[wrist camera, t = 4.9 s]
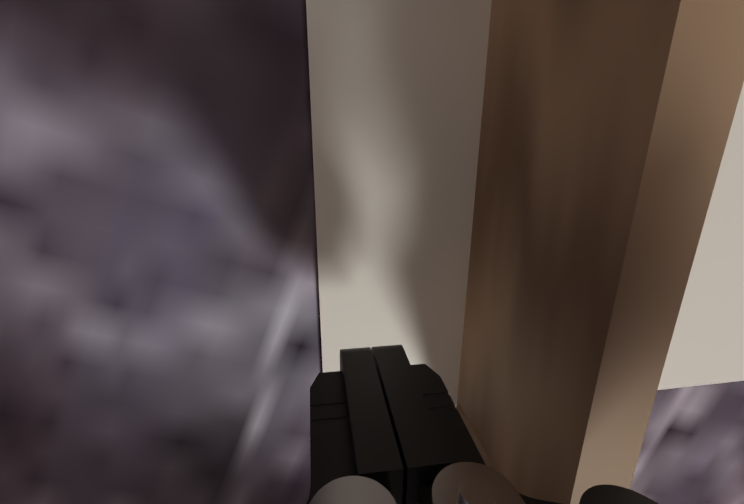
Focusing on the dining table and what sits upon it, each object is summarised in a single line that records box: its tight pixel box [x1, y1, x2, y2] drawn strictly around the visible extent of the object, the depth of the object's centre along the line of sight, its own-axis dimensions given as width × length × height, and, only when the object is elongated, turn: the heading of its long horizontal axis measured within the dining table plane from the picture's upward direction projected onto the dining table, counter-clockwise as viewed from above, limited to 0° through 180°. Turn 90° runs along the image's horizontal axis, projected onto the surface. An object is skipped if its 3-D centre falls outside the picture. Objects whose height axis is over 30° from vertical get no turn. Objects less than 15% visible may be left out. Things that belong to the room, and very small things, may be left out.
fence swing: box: [455, 0, 744, 504], centre depth 8 cm, size 15×2×6 cm, turn 0°
